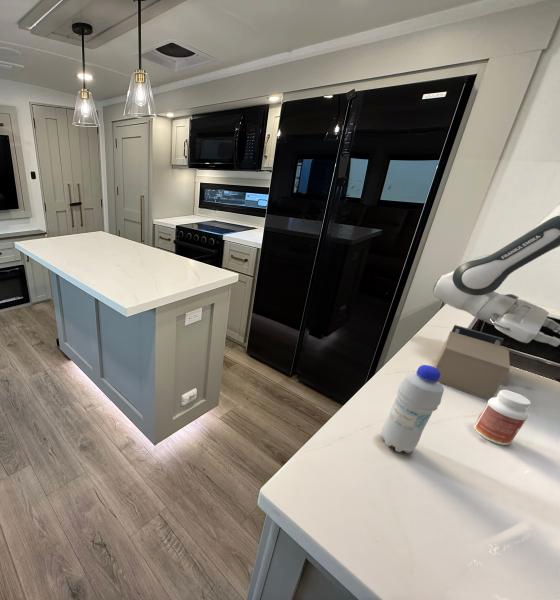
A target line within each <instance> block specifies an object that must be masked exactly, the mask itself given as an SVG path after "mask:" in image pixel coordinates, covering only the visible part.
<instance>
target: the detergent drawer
mask: <svg viewBox="0 0 560 600" xmlns="http://www.w3.org/2000/svg"><path fill="white" fill-rule="evenodd" d="M451 332H455V333H458V334H461V335H465V336H468V337H472V338H475V339H479V340H482V341H485V342H489V343H492V344H496V345H499V346H502V344H503V342H504V339H505V338H504V337H499V336H497V335H492V334H489V333H486V332H481V331H478V330H476V329H471V328H467V327H464V326H461V325H458V324H454V325H453V326H452V329H451Z"/></svg>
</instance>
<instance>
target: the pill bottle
mask: <svg viewBox="0 0 560 600" xmlns="http://www.w3.org/2000/svg"><path fill="white" fill-rule="evenodd" d="M496 394H497V395H496V396H493V398H491V399H489V400H488V401H487V402H486V404H485V405H484V407H483V409H482V410H481V412H480V414H479V415H478V417H477V418H476V421H475V422H474V424H473V428H474V431H476V433H478V434H479V435H480V436H481V437H482V438H484V439H486V440H487V441H489V442H492V443H493V444H494V443H495V444H498V445H504V446H506V445H510V444H511V443H512V442H513V441H514V440H515V437H516V435H517V434H518V433H519V432H520V430H521V429H522V427H523V426H524V424H525V423H526V421H527V420H528V418H529V412H528V410H527V409H529V408H530V406H531V402H532V401H530V399H528V398H527V397H525V395H522V394H520V393H518V392H515V391H512V390H509V389H508V390H507V389H501V390H499V392H498V393H496Z"/></svg>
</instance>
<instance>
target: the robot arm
mask: <svg viewBox="0 0 560 600" xmlns="http://www.w3.org/2000/svg"><path fill="white" fill-rule="evenodd" d="M559 247H560V202H559V203H557V204H556V205H555V206H554V207H553V208H552V209H551V210H550V211H548V213H546V215H545V216H543V218H542V219H541V220H540V221H538V223H537V224H536V225H534V227H532V228H531V229H529V230H528V231H527V232H525V234H523V235H521V236H520V237H519V238H516V239H515V240H513V241H512V242H510V243H508V244H507V245H505V246H503V247H501V248H500V249H499V250H497V251H495V252H494V253H492V254H484V255H480V256H477V257H475V258H472V259H470V260H469V261H466V262H464V263H462V264H460V265H459V266H457V267H456V268H455V270H453V271H450V272H448V273H445V274H442V275H441V276H440V277H438V279H437V281H436V282H435V284H434V286H433V289H432V294H433V296H434V297H435V299H437V300H439V301H440V302H442V303H444V304H446V305H448V306H449V307H452V308H454V309H456V310H459V311H463V312H466V313H467V314H470V315H471V316H472V317H474V318H476V319H478V320H480V321H483V322H485V323H487V324H489V325H491V326H494V328H495V329H496V330H497V331H499V332H500V333H503V334H504V335H506V336H508V337H510V338H512V339H514V340H516V341H518V342H520V343H525V344H528V343H530V342H531V341H532V340H534V341H536V342H539V343H544V344H549V345H550V346H553V347H558V346H559V345H560V338H558V337H556V336H554V335H553V336H550V335H548V334H545V333H544V332H542V331H540V330H541V329H542V327H546V328H548V329H550V330H552V332H554V333H556V334H559V335H560V323H558V322H556V321H555V320H553V319H551V318H549V317H548V316H549V314H550V313H549V311H548V310H546V309H545V308H543V307H540V306H538V305H536V304H533V303H532V302H529V301H527V300H525V299H519V298H520V296H518V295H516V294H513V293H507V294H502V293H499V292H496V290H498V289H499V288H500V287H501V285H502V284H503V282H504V281H505V280H507V278H508V277H509V276H510V275H511V274H513V273H514V272H515V271H517V270H519V269H520V268H522V267H524V266H525V265H526V266H527V264H529V263H531V262H533V261H534V260H536V259H538V258H540V257H541V256H543V255H546V254H547V253H549V252H550V251H552V250H555V249H557V248H559Z"/></svg>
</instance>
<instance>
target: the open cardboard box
mask: <svg viewBox="0 0 560 600" xmlns="http://www.w3.org/2000/svg"><path fill="white" fill-rule="evenodd" d="M451 331H452V330H451ZM451 331H449V333H448V335H447V338H446V340H445V342H444V344H443V346H442V347H441V350H440V352H439V354H438V356H437V358H436V360H435V363H434V366H433V367H434V368H436V369H437V370H439V372H440V378H439V380H438V382H439V383H440V384H443V385H445V386H448V387H451V388H453V389H456V390H459V391H461V392H464V393H467V394H469V395H471V396H474V397H476V398H480V399H482V400H485V401H487V402H488V400H489V399H491V398H493V397H495V395H496V394H497V392H498V390H499V388H500V387H501V385H502V384H503V381H504V380H505V378H506V377H507V375H508V374H509V372H510V370H511V363H510V362H511V361H510V349H509V347H505V346H503V345H500V346H499V345H496V344H492V343H489V342H485V341H482V340H479V339H475V338H472V337H468V336H465V335H461V334H458V333H455V332H451Z"/></svg>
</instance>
